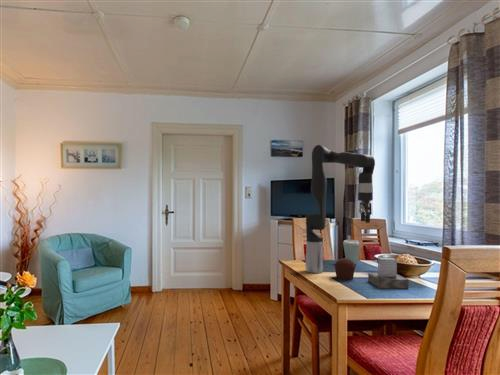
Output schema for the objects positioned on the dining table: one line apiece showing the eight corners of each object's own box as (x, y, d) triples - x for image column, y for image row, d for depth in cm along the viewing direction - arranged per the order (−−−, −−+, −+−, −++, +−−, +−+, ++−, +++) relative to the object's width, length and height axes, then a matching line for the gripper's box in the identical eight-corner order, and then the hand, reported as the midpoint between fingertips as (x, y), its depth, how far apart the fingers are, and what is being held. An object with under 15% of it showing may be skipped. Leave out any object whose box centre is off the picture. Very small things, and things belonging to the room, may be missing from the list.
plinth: (379, 288, 163) (379, 279, 163) (368, 280, 177) (368, 273, 177) (408, 288, 164) (408, 279, 164) (395, 280, 178) (395, 273, 178)
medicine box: (393, 275, 173) (393, 257, 173) (397, 277, 168) (397, 259, 169) (377, 275, 173) (377, 257, 173) (381, 277, 168) (381, 259, 168)
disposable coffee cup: (362, 265, 217) (362, 241, 217) (344, 265, 217) (344, 241, 218) (357, 262, 228) (357, 239, 228) (340, 262, 228) (340, 239, 228)
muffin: (331, 275, 190) (331, 256, 190) (352, 275, 190) (352, 257, 190) (337, 280, 178) (337, 260, 178) (358, 280, 178) (358, 261, 178)
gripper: (354, 191, 193) (354, 220, 193) (361, 191, 178) (361, 223, 178) (368, 191, 192) (368, 220, 192) (376, 191, 178) (376, 223, 178)
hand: (365, 221), depth 185 cm, fingers open, 8 cm apart
